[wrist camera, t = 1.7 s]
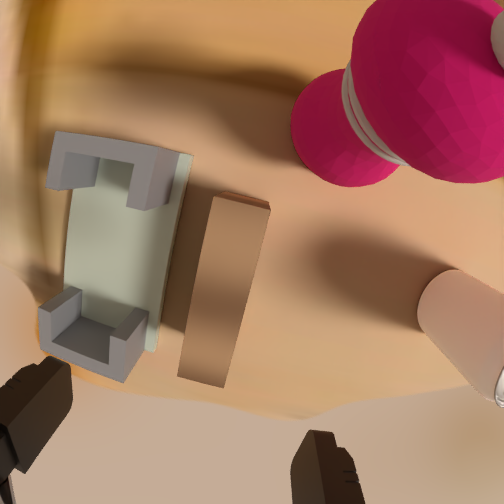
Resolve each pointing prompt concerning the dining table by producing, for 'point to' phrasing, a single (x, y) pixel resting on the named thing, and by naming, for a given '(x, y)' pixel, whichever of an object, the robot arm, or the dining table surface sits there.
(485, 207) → the dining table surface
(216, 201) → the slat
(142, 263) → the holder
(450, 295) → the can
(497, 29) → the pepper mill
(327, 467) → the robot arm
